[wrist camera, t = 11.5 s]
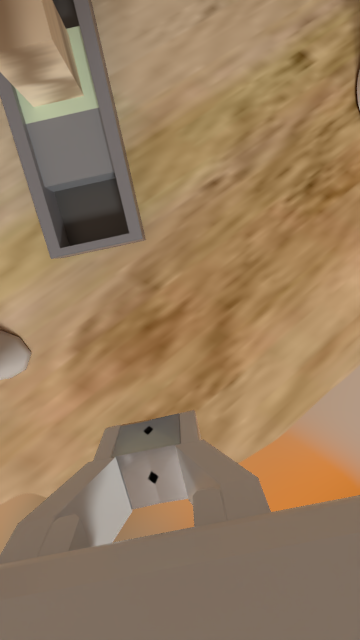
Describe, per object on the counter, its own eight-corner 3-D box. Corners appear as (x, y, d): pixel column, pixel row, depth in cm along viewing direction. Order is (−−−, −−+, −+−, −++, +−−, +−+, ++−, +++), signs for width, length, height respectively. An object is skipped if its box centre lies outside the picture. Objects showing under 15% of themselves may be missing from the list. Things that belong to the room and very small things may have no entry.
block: (68, 34, 31) (28, -50, 23) (83, 95, 33) (52, 39, 24) (16, 46, 32) (-44, -32, 23) (33, 107, 33) (-16, 55, 24)
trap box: (81, -42, 32) (69, -81, 28) (145, 240, 40) (142, 238, 36) (-20, -17, 33) (-46, -54, 29) (62, 258, 40) (50, 258, 36)
